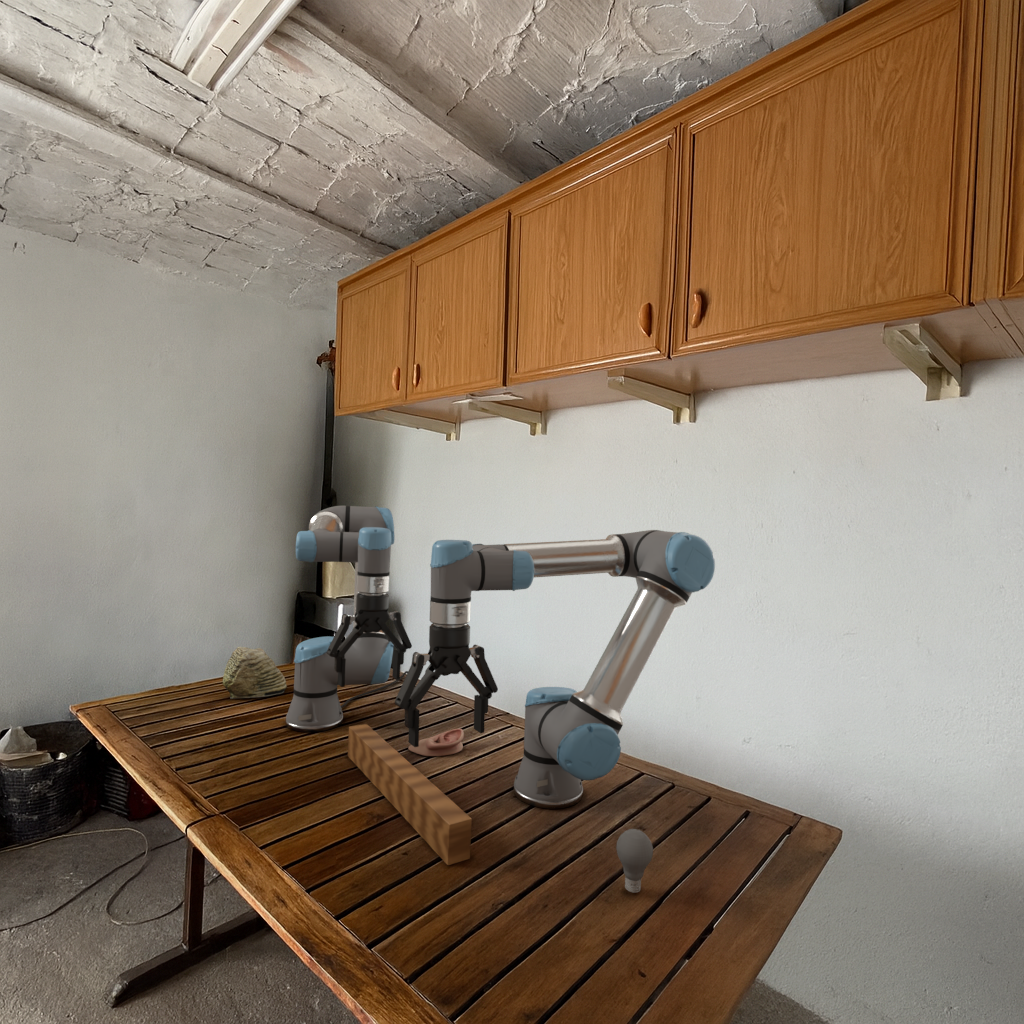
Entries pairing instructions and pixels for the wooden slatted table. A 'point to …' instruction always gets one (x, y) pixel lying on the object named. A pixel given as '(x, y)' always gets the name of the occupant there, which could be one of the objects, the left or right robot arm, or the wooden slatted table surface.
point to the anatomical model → (440, 744)
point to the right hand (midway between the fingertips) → (447, 737)
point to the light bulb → (634, 857)
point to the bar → (412, 795)
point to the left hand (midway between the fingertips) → (369, 681)
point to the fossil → (252, 674)
